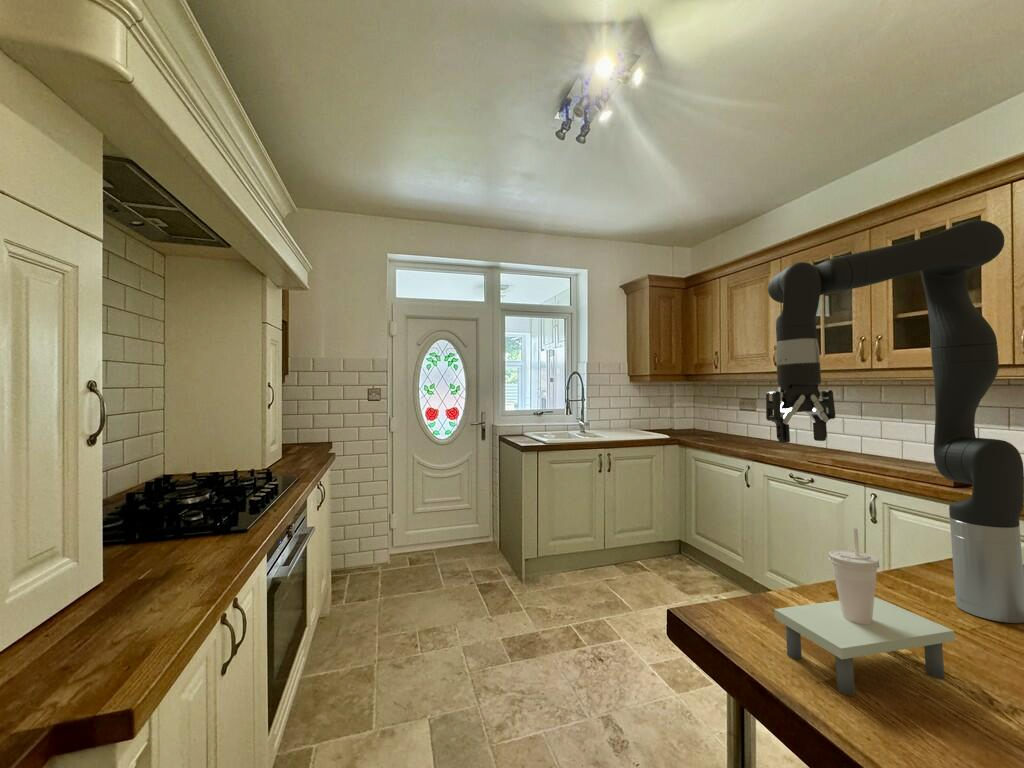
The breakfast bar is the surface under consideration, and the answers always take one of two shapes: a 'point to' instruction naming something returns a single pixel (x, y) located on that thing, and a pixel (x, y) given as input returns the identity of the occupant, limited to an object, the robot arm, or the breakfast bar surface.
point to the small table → (863, 636)
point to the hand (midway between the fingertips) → (802, 441)
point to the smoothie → (855, 582)
